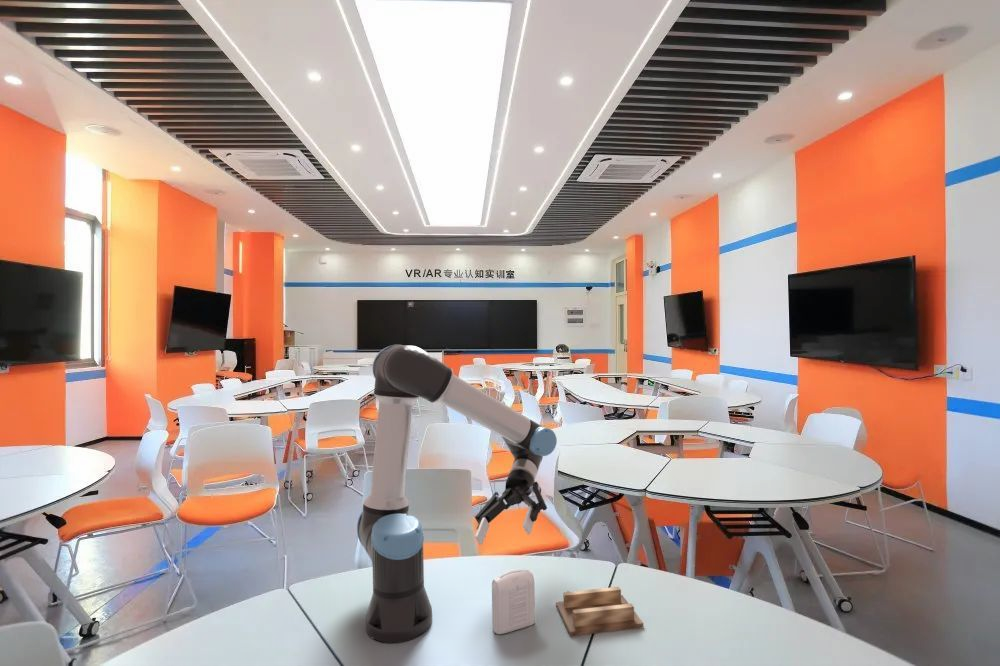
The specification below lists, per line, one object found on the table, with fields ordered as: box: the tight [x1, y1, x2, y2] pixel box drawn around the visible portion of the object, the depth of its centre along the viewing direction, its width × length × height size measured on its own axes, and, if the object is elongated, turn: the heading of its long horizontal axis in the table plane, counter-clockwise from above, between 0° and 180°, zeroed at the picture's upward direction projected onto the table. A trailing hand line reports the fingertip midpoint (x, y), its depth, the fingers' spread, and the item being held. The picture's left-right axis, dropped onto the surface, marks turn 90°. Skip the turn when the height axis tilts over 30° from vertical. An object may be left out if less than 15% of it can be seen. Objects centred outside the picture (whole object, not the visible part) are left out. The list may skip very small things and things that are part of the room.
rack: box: [555, 586, 644, 637], centre depth 114 cm, size 17×12×4 cm
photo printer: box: [491, 569, 536, 635], centre depth 111 cm, size 10×4×12 cm, turn 116°
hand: (501, 535), depth 117 cm, fingers open, 13 cm apart
